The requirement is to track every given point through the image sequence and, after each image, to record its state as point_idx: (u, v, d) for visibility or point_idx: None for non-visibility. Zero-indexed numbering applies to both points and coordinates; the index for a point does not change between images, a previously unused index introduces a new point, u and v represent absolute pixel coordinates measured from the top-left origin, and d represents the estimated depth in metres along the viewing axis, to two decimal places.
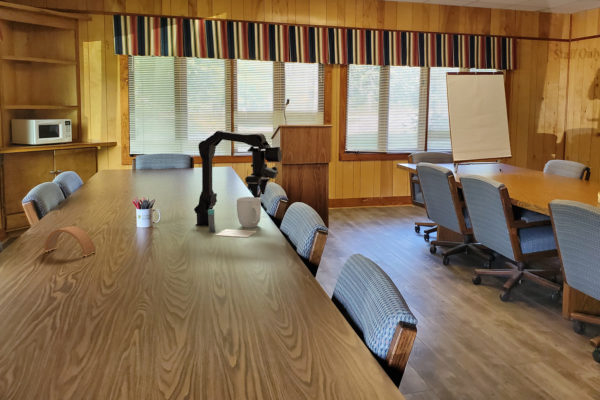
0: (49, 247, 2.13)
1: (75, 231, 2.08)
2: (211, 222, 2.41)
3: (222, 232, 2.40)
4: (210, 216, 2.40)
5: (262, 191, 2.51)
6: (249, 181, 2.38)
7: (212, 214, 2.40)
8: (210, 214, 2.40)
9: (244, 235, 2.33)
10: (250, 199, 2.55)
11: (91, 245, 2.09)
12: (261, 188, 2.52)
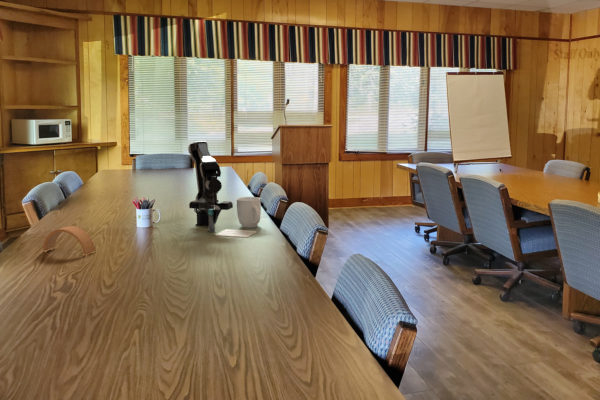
0: (48, 247, 2.13)
1: (75, 231, 2.08)
2: (211, 222, 2.41)
3: (222, 232, 2.40)
4: (210, 216, 2.40)
5: None
6: None
7: (212, 214, 2.40)
8: (210, 214, 2.40)
9: (244, 235, 2.33)
10: (250, 199, 2.55)
11: (91, 244, 2.09)
12: None
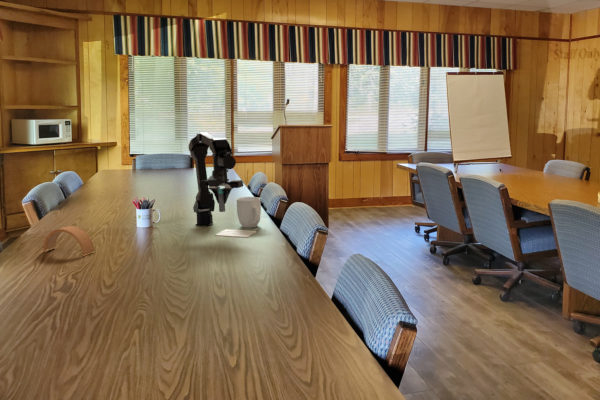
0: (48, 247, 2.13)
1: (74, 231, 2.08)
2: (221, 202, 2.35)
3: (222, 232, 2.40)
4: (220, 195, 2.35)
5: None
6: None
7: (222, 193, 2.35)
8: (220, 193, 2.35)
9: (244, 235, 2.33)
10: (250, 199, 2.55)
11: (90, 245, 2.09)
12: None
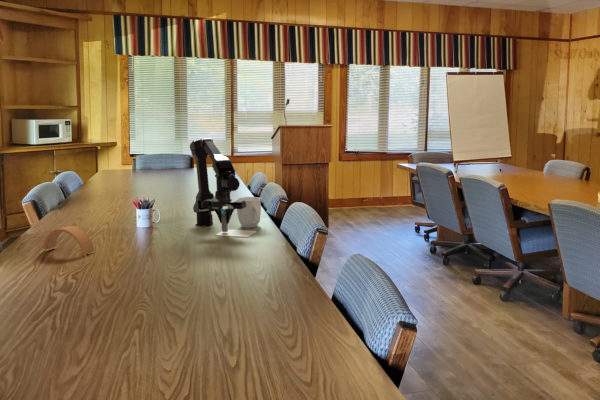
0: (48, 246, 2.13)
1: (74, 231, 2.08)
2: (224, 222, 2.37)
3: (222, 232, 2.40)
4: (223, 215, 2.36)
5: None
6: None
7: (225, 213, 2.36)
8: (223, 213, 2.36)
9: (244, 235, 2.33)
10: (250, 199, 2.55)
11: (90, 245, 2.09)
12: None
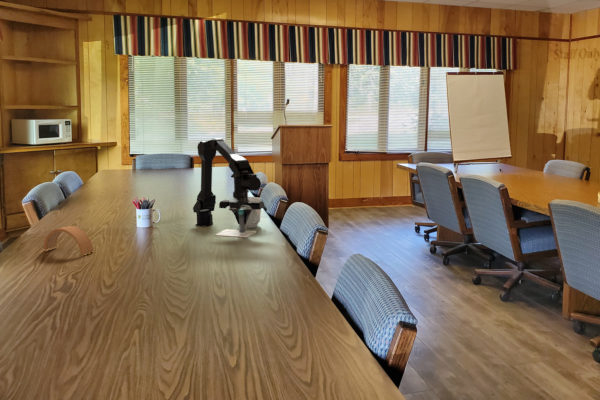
0: (48, 246, 2.14)
1: (73, 231, 2.08)
2: (241, 223, 2.34)
3: (222, 232, 2.40)
4: (241, 216, 2.34)
5: None
6: None
7: (243, 214, 2.34)
8: (241, 214, 2.34)
9: (244, 235, 2.33)
10: (250, 199, 2.55)
11: (89, 245, 2.09)
12: None
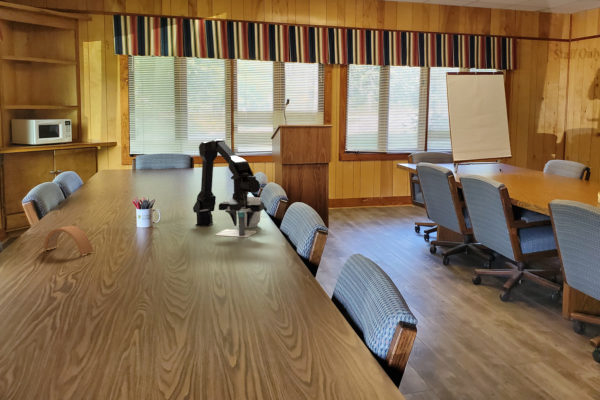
0: (49, 246, 2.14)
1: (73, 231, 2.08)
2: (241, 225, 2.33)
3: (222, 232, 2.40)
4: (240, 219, 2.32)
5: None
6: None
7: (242, 216, 2.32)
8: (240, 216, 2.32)
9: (244, 235, 2.33)
10: (250, 199, 2.55)
11: (88, 245, 2.09)
12: None
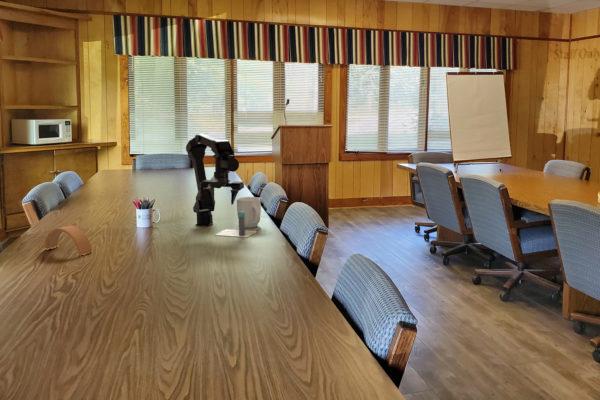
0: (49, 245, 2.15)
1: (72, 230, 2.09)
2: (241, 225, 2.33)
3: (222, 232, 2.40)
4: (240, 219, 2.32)
5: None
6: None
7: (242, 217, 2.32)
8: (240, 217, 2.32)
9: (244, 235, 2.33)
10: (250, 199, 2.55)
11: (87, 245, 2.09)
12: None
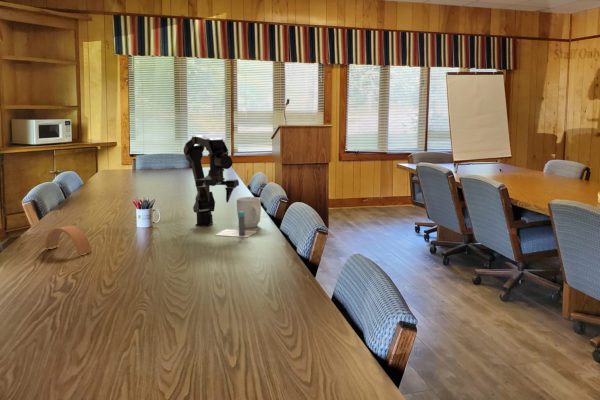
0: (50, 245, 2.16)
1: (72, 230, 2.09)
2: (241, 225, 2.33)
3: (222, 232, 2.40)
4: (240, 219, 2.32)
5: None
6: None
7: (242, 217, 2.32)
8: (240, 217, 2.32)
9: (244, 235, 2.33)
10: (250, 199, 2.55)
11: (87, 245, 2.09)
12: None
